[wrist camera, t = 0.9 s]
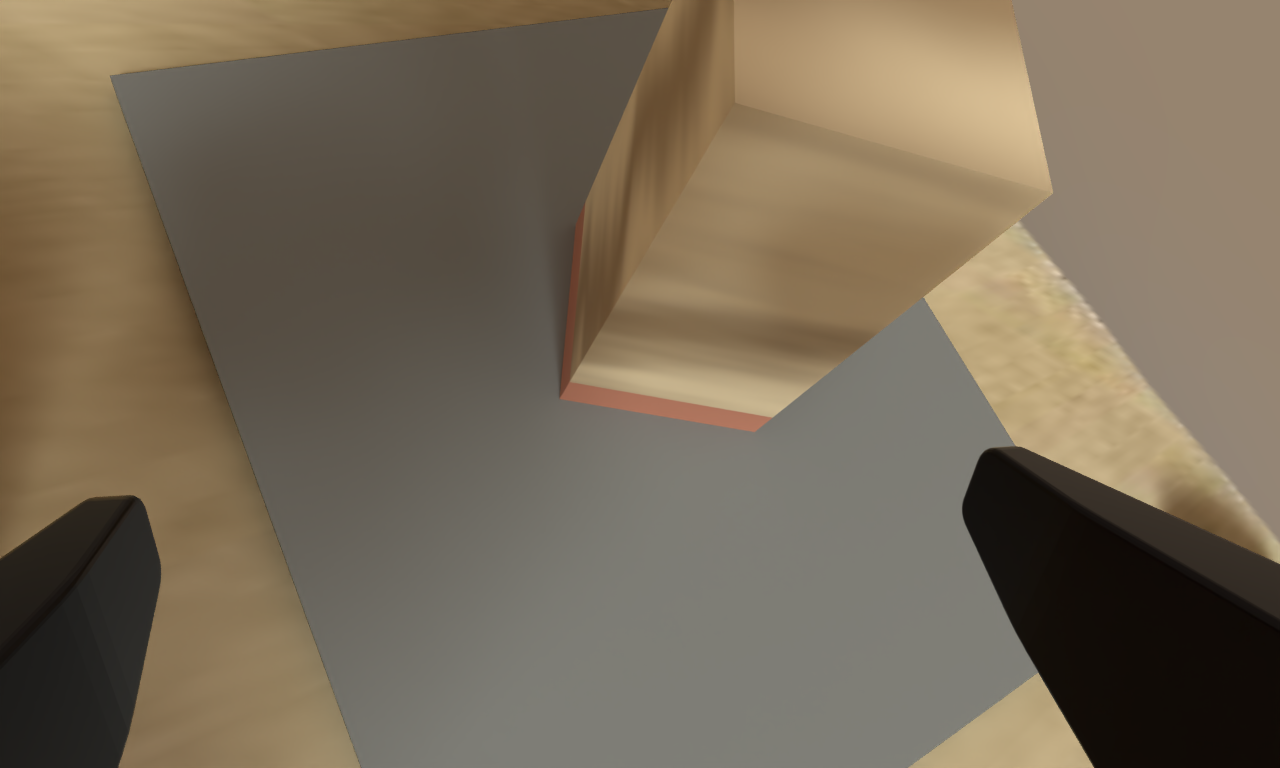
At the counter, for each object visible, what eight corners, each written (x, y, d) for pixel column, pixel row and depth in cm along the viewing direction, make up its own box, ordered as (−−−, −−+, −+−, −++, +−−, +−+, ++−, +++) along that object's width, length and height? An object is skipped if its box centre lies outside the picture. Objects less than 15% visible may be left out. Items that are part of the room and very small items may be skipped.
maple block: (754, 431, 25) (1053, 192, 14) (559, 399, 23) (734, 102, 13) (751, 263, 27) (1001, -43, 17) (575, 223, 26) (732, -142, 15)
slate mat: (1103, 615, 27) (1119, 613, 26) (472, 1073, 17) (476, 1083, 16) (732, 11, 33) (738, -1, 32) (115, 91, 23) (109, 75, 23)
